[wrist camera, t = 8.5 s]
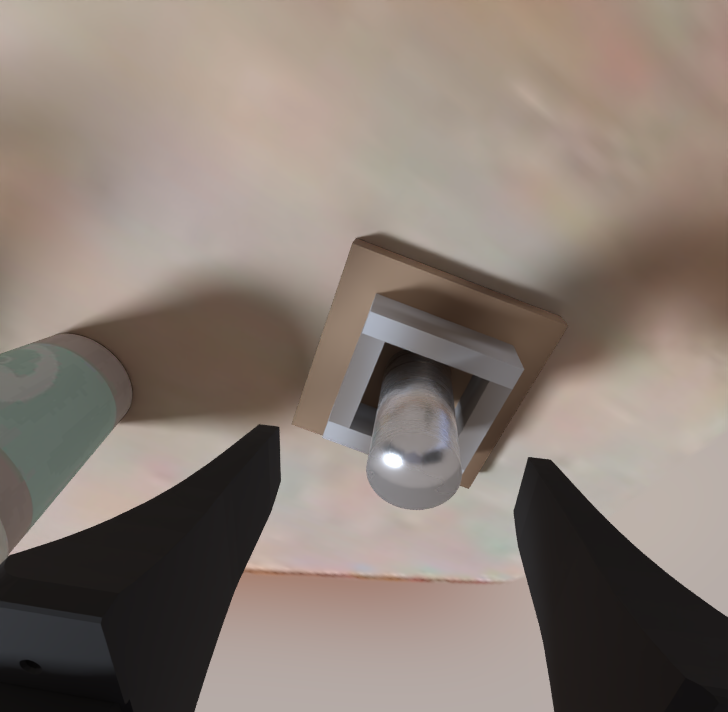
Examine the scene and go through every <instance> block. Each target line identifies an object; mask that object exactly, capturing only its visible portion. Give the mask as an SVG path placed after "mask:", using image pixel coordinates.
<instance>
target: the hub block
mask: <svg viewBox="0 0 728 712" xmlns="http://www.w3.org/2000/svg"><path fill="white" fill-rule="evenodd" d="M567 327H568V325H567V324H566V323H565V321H564V320H563V319H562V318H561V316H558V315H556V314H553V313H550V312H548V311H545V310H543V309H540V308H537V307H535V306H532V305H529V304H527V303H524V302H522V301H519V300H516V299H514V298H511V297H509V296H506V295H503V294H501V293H498V292H496V291H493V290H490V289H488V288H485V287H482V286H480V285H477V284H475V283H472V282H469V281H467V280H464V279H462V278H459V277H456V276H454V275H451V274H449V273H446V272H443V271H441V270H438V269H436V268H433V267H430V266H428V265H425V264H422V263H420V262H417V261H415V260H412V259H409V258H407V257H404V256H402V255H399V254H396V253H394V252H391V251H389V250H386V249H383V248H381V247H378V246H376V245H373V244H370V243H368V242H365V241H362V240H360V239H357V238H356V239H355V240H354V242H353V243H352V246H351V249H350V252H349V255H348V258H347V261H346V264H345V267H344V270H343V273H342V276H341V279H340V282H339V285H338V288H337V291H336V293H335V296H334V299H333V302H332V305H331V308H330V311H329V314H328V317H327V320H326V323H325V326H324V329H323V332H322V335H321V338H320V341H319V344H318V347H317V350H316V353H315V356H314V359H313V362H312V365H311V368H310V371H309V374H308V377H307V380H306V383H305V386H304V389H303V392H302V394H301V397H300V400H299V403H298V406H297V409H296V412H295V415H294V418H293V421H292V425H295V426H298V427H300V428H303V429H306V430H309V431H311V432H314V433H317V434H320V435H322V438H324V439H327V440H330V441H333V442H335V443H338V444H341V445H344V446H346V447H349V448H352V449H355V450H357V451H360V452H363V453H366V454H368V455H369V450H370V444H371V439H372V434H373V428H374V423H375V418H376V412H377V407H378V402H379V397H380V391H381V386H382V381H383V375H384V370H385V367H386V365H387V363H388V361H389V360H390V359H391V358H392V357H393V356H394V355H395V354H397V353H398V352H400V351H402V350H404V349H406V350H408V351H411V352H414V353H417V354H419V355H422V356H425V357H427V358H430V359H433V360H435V361H438V362H441V363H443V364H446V365H448V366H449V368H450V372H451V379H452V388H453V397H454V406H455V415H456V424H457V433H458V441H459V450H460V459H461V468H462V479H461V483H460V486H463V487H465V488H468V489H469V487H470V486H471V484H472V483H473V481H474V479H475V478H476V476H477V474H478V473H479V471H480V469H481V468H482V466H483V465H484V463H485V461H486V460H487V458H488V456H489V455H490V453H491V451H492V450H493V448H494V447H495V445H496V443H497V442H498V440H499V438H500V437H501V435H502V433H503V432H504V430H505V429H506V427H507V425H508V424H509V422H510V420H511V419H512V417H513V415H514V414H515V412H516V411H517V409H518V407H519V406H520V404H521V402H522V401H523V399H524V397H525V396H526V394H527V393H528V391H529V389H530V388H531V386H532V384H533V383H534V381H535V379H536V378H537V376H538V375H539V373H540V371H541V370H542V368H543V366H544V365H545V363H546V361H547V360H548V358H549V357H550V355H551V353H552V352H553V350H554V348H555V347H556V345H557V343H558V342H559V340H560V339H561V337H562V335H563V334H564V332H565V330H566V329H567Z"/></svg>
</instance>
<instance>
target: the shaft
mask: <svg viewBox="0 0 728 712" xmlns="http://www.w3.org/2000/svg"><path fill="white" fill-rule="evenodd" d="M366 472H367V478H368V481H369V483H370V485H371V487H372V488H373V490H374V491H375V492H376V493H377V494H378V495H379V496H380V497H381V498H382V499H383V500H385V501H387V502H388V503H390V504H392V505H395V506H397V507H400V508H404V509H410V510H423V509H429V508H433V507H436V506H438V505H441V504H443V503H444V502H446V501H447V500H449V499H450V498H451V497H452V496H453V495H454V494H455V493H456V491H457V490H458V488H459V486H460V483H461V479H462V468H461V459H460V450H459V441H458V433H457V424H456V415H455V406H454V397H453V388H452V379H451V372H450V368H449V366H448V365H446V364H443V363H441V362H438V361H435V360H433V359H430V358H427V357H425V356H422V355H419V354H417V353H414V352H411V351H408V350H406V349H404V350H402V351H400V352H398V353H397V354H395V355H394V356H393V357H392V358H391V359H390V360H389V361H388V363H387V365H386V367H385V370H384V375H383V381H382V386H381V391H380V397H379V402H378V407H377V412H376V418H375V423H374V428H373V434H372V439H371V444H370V450H369V455H368V460H367V467H366Z"/></svg>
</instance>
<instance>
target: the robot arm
mask: <svg viewBox="0 0 728 712" xmlns="http://www.w3.org/2000/svg"><path fill="white" fill-rule="evenodd" d="M280 482H281V471H280V434H279V427H277V426H269V425H260V424H259V425H258V426H257V427H255V428H254V429H253V430H251V431H250V432H249V433H247V434H246V435H245V436H244V437H242V438H241V439H240V440H239V441H237V442H236V443H235V444H234V445H232V446H231V447H230V448H228V449H227V450H226V451H224V452H223V453H222V454H220V455H219V456H218V457H217V458H215V459H214V460H213V461H211V462H210V463H208V464H207V465H206V466H204V467H203V468H201V469H200V470H198V471H197V472H195V473H194V474H192V475H191V476H189V477H188V478H187V479H185V480H183V481H182V482H180V483H179V484H177V485H175V486H174V487H172V488H170V489H169V490H167V491H165V492H163V493H162V494H160V495H158V496H156V497H155V498H153V499H151V500H149V501H147V502H145V503H143V504H141V505H139V506H137V507H135V508H133V509H131V510H129V511H127V512H125V513H122V514H120V515H118V516H116V517H114V518H112V519H110V520H107V521H105V522H103V523H100V524H98V525H96V526H93V527H91V528H88V529H86V530H83V531H80V532H78V533H75V534H73V535H70V536H67V537H65V538H62V539H59V540H56V541H53V542H50V543H47V544H44V545H41V546H38V547H34V548H31V549H28V550H25V551H22V552H19V553H16V554H12V555H9V556H8V557H7V558H6V559H5V560H4V561H3V562H2V563H1V564H0V712H194V711H195V708H196V705H197V701H198V698H199V695H200V692H201V689H202V686H203V682H204V679H205V676H206V673H207V669H208V667H209V664H210V660H211V658H212V655H213V652H214V649H215V646H216V643H217V640H218V637H219V634H220V631H221V628H222V625H223V622H224V619H225V617H226V614H227V611H228V608H229V605H230V602H231V600H232V597H233V594H234V591H235V589H236V587H237V584H238V582H239V580H240V578H241V575H242V573H243V571H244V569H245V567H246V565H247V563H248V560H249V558H250V556H251V554H252V552H253V550H254V548H255V546H256V543H257V541H258V539H259V537H260V535H261V533H262V530H263V528H264V526H265V524H266V522H267V520H268V517H269V515H270V513H271V510H272V507H273V504H274V501H275V498H276V495H277V492H278V488H279V485H280ZM514 519H515V528H516V535H517V542H518V548H519V551H520V555H521V559H522V563H523V567H524V571H525V574H526V578H527V582H528V585H529V589H530V593H531V597H532V600H533V604H534V607H535V611H536V615H537V619H538V622H539V626H540V630H541V635H542V640H543V644H544V650H545V656H546V662H547V668H548V674H549V680H550V686H551V693H552V699H553V706H554V712H728V617H727V616H725V615H723V614H722V613H721V612H719V611H718V610H716V609H715V608H713V607H712V606H711V605H709V604H708V603H706V602H705V601H704V600H702V599H701V598H700V597H698V596H696V595H695V594H694V593H693V592H691V591H690V590H688V589H687V588H686V587H684V586H683V585H682V584H680V583H679V582H678V581H677V580H675V579H674V578H673V577H671V576H670V575H669V574H668V573H666V572H665V571H664V570H663V569H661V568H660V567H659V566H658V565H657V564H655V563H654V562H653V561H652V560H651V559H649V558H648V557H647V556H646V555H645V554H643V553H642V552H641V551H640V550H639V549H638V548H636V547H635V546H634V545H633V544H632V543H631V542H630V541H629V540H628V539H627V538H626V537H625V536H624V535H622V534H621V533H620V532H619V531H618V530H617V529H616V528H615V527H614V526H613V525H612V524H611V523H610V522H609V521H608V520H607V519H606V518H605V517H604V516H603V515H602V514H601V513H600V512H599V511H598V510H597V509H596V508H595V507H594V506H593V505H592V504H591V503H590V502H589V501H588V500H587V498H586V497H585V496H584V495H583V494H582V493H581V492H580V491H579V490H578V489H577V488H576V487H575V485H574V484H573V483H572V482H571V481H570V480H569V479H568V478H567V477H566V476H565V475H564V473H563V472H562V471H561V470H560V469H559V468H558V467H557V466H556V465H555V464H554V463H553V462H552V461H551V460H549V459H541V458H532V457H528V460H527V464H526V468H525V471H524V475H523V479H522V482H521V486H520V490H519V494H518V497H517V501H516V505H515V508H514Z"/></svg>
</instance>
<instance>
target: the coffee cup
mask: <svg viewBox="0 0 728 712" xmlns="http://www.w3.org/2000/svg"><path fill="white" fill-rule="evenodd" d="M131 401H132V387H131V382H130V379H129V377H128V374H127V372H126V371H125V369H124V367H123V366H122V364H121V363H120V362H119V360H118V359H117V358H116V357H115V356H114V355H113V354H112V353H111V352H110V351H109V350H107V349H106V348H105V347H103V346H102V345H100V344H99V343H97V342H95V341H93V340H91V339H89V338H86V337H84V336H80V335H75V334H58V335H54V336H51V337H48V338H45V339H42V340H39V341H36V342H33V343H30V344H28V345H25V346H22V347H19V348H16V349H13V350H10V351H7V352H5V353H2V354H0V564H1V563H2V562H3V561H4V560H5V559H6V558H7V557H8V555H9V553H10V552H11V551H12V550H13V548H14V547H15V546H16V545H17V544H18V543H19V541H20V540H21V539H22V538H23V537H24V535H25V534H26V533H27V532H28V531H29V530H30V528H31V527H32V526H33V525H34V524H35V522H36V521H37V520H38V519H39V518H40V516H41V515H42V514H43V513H44V512H45V510H46V509H47V508H48V507H49V506H50V504H51V503H52V502H53V501H54V500H55V498H56V497H57V496H58V495H59V494H60V492H61V491H62V490H63V489H64V487H65V486H66V485H67V484H68V483H69V481H70V480H71V479H72V478H73V477H74V475H75V474H76V473H77V472H78V471H79V469H80V468H81V467H82V466H83V465H84V463H85V462H86V461H87V460H88V459H89V457H90V456H91V455H92V454H93V453H94V451H95V450H96V449H97V448H98V447H99V445H100V444H101V443H102V442H103V441H104V439H105V438H106V437H107V436H108V435H109V433H110V432H111V431H112V430H113V429H114V427H115V426H116V425H117V424H118V422H119V421H120V420H121V419H122V418H123V416H124V415H125V414H126V413H127V411H128V410H129V408H130V405H131Z"/></svg>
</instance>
